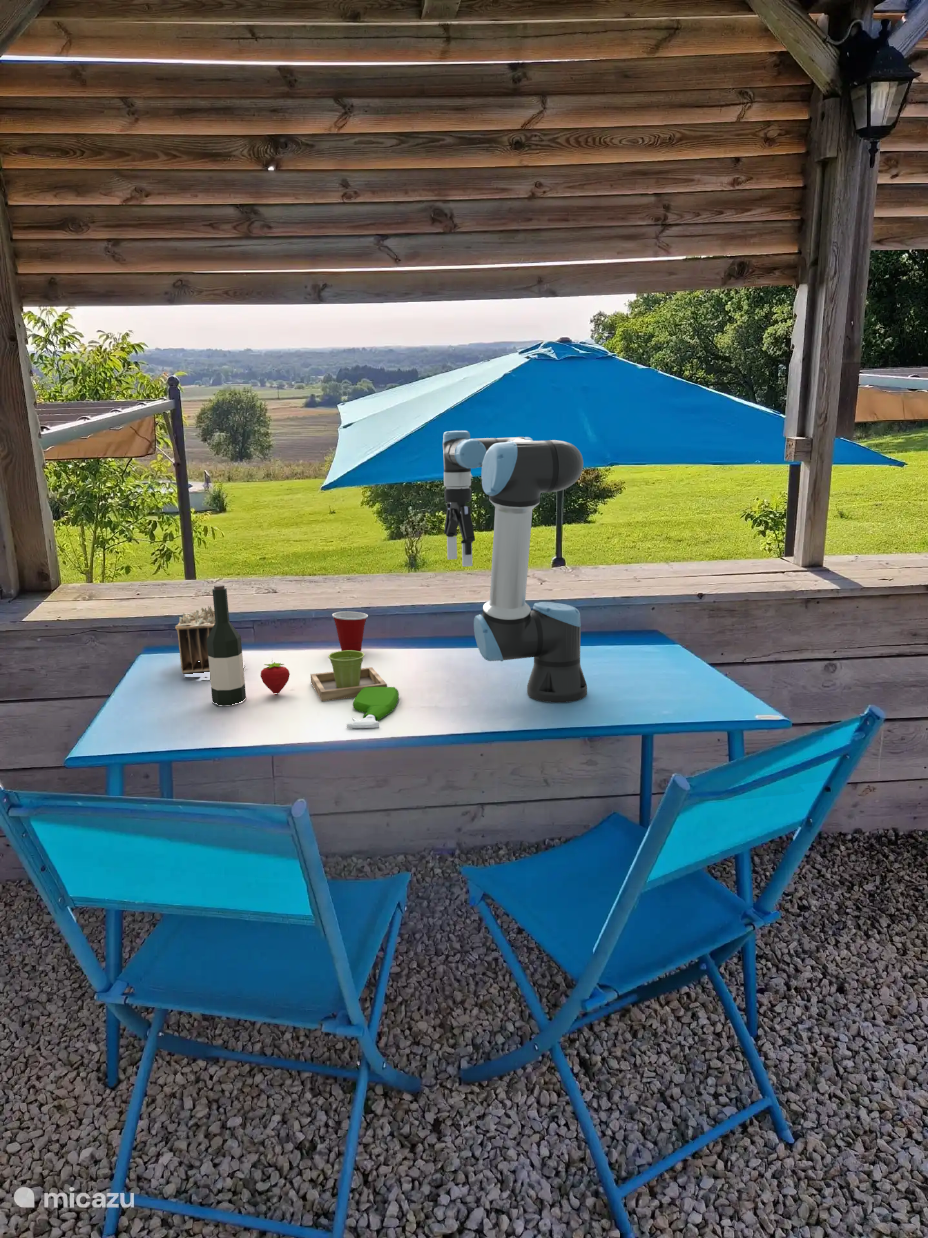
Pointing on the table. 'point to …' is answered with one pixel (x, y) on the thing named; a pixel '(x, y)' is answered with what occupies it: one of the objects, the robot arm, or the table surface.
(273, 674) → the strawberry
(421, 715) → the table surface
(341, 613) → the plastic cup
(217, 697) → the wine bottle
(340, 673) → the plant pot
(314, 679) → the square wooden tray
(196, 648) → the wooden crate with straw
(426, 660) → the table surface
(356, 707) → the spray bottle
